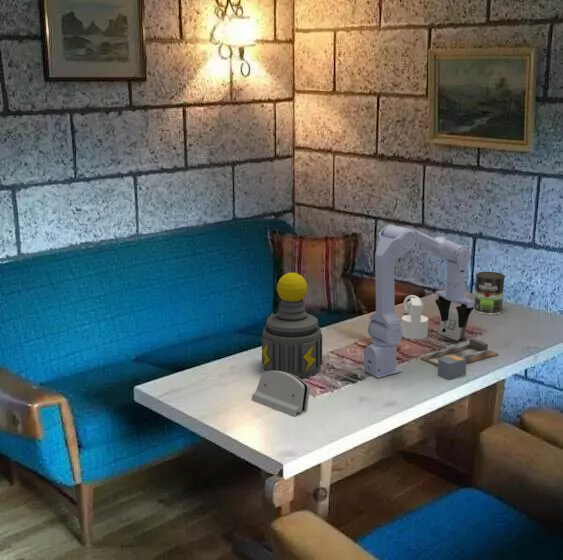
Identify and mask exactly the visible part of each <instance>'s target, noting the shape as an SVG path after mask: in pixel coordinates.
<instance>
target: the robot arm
mask: <svg viewBox="0 0 563 560" xmlns="http://www.w3.org/2000/svg"><path fill="white" fill-rule="evenodd" d="M418 245H419V246H423V247H425V248H429V251H430V253H431V254H432V255H434V256H437V257H439V258H441V259H444V261H446V281H445V290H436V292H435V296H436V297H435V298H436V299H435V300H434V301H435V302H434V303H435V304H436V306H437V309H438V311H439V314H440V321H441V320H442V321H448V316H449V309H450V308H451V304H452V303H455V304H458V306H457V305H456V307H455V308H456V312H458V326H459V328H462V327H465V324H466V321H467V319H468V317H470V315H471V314H472V311H474V305H475V300H472V299H470V298H468V297H467V296H466V294H465V286H466V284H465V283H466V270H467V268H468V264H469V262H470V260H471V257H472V254H470V250H469V249H468V247H466V246H464V245H460V244H458V241H455V240H453V241H452V240H449V239H448V237H447V236H443V235H441V236H436V237H431V236H430V235H427V234H426V233H424V232H422V231H419V230H417V229H412V228H407V227H404V226H398V225H397V226H396V225H394V224H392V223H391V224H387V225H385V226H384V227H383V228H382V229H381V230H380V231H379V232H378V245H377V248H376V251H375V254H374V255H375V256H374V260H375V261H374V262H375V263H374V264H375V265H374V266H375V268H374V269H375V271H374V272H375V273H374V274H375V311H374V313H372V314H371V315H370V316H369V322H368V323H369V324H368V326H367V333H368V335H369V336H370V340H371V342H372V343H371V344H370V345H367V346H366V347H365V348H364V350H363V367H362V368H361V370H362V371H363V372H365V373H367V374H369V375H371V376H373V377H375V378H378V379H380V378H383V377H386V376H391V375H394V374H398V373H402V372H403V370H402V369H400V368H399V367H397V350H398V349H397V346H398V345H399V343H400V342H401V341H402V338H403V336H402V335H403V332H402V329H401V320H400V318H399V317H398V315H397V314H396V312H395V301H396V300H395V297H396V295H395V293H396V291H395V289H396V288H395V261H396V260H398V259H399V258H401V257H402V256H404V255H405V254H407V253H408V252H409V251H411V250H412V249H413V248H414V247H417V246H418ZM437 298H438V299H437ZM468 320H469V319H468Z"/></svg>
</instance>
